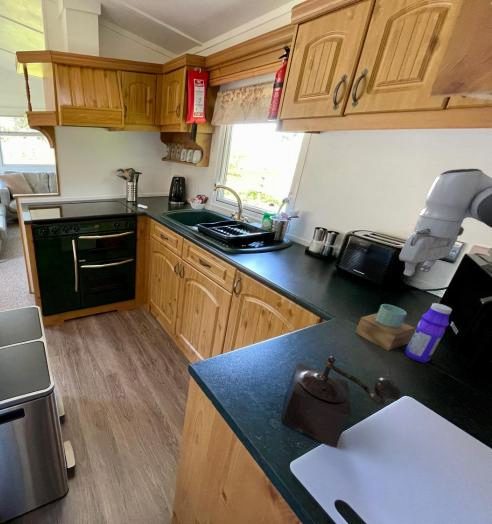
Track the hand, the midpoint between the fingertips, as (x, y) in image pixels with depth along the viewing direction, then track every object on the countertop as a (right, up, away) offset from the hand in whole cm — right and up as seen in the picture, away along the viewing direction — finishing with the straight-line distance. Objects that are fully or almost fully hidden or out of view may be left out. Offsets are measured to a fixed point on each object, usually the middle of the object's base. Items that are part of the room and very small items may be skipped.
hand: (416, 273), depth 86 cm
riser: (-3, -22, +9) cm, 24 cm away
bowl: (-3, -16, +7) cm, 18 cm away
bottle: (+1, -25, +1) cm, 26 cm away
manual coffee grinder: (-44, -32, -24) cm, 59 cm away
